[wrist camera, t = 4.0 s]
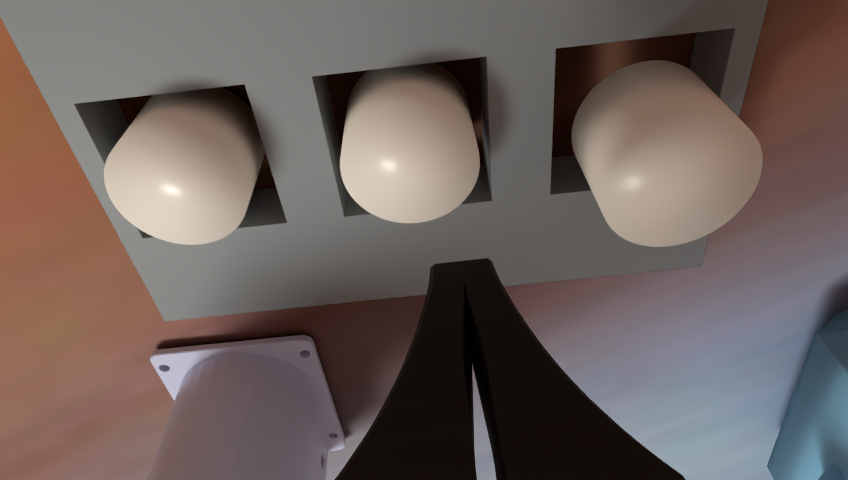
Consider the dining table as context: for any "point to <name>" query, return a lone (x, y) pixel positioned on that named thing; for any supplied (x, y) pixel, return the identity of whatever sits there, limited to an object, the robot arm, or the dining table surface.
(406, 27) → the console
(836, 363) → the teakettle
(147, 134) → the far knob
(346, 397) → the dining table surface
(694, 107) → the near knob
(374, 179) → the middle knob
